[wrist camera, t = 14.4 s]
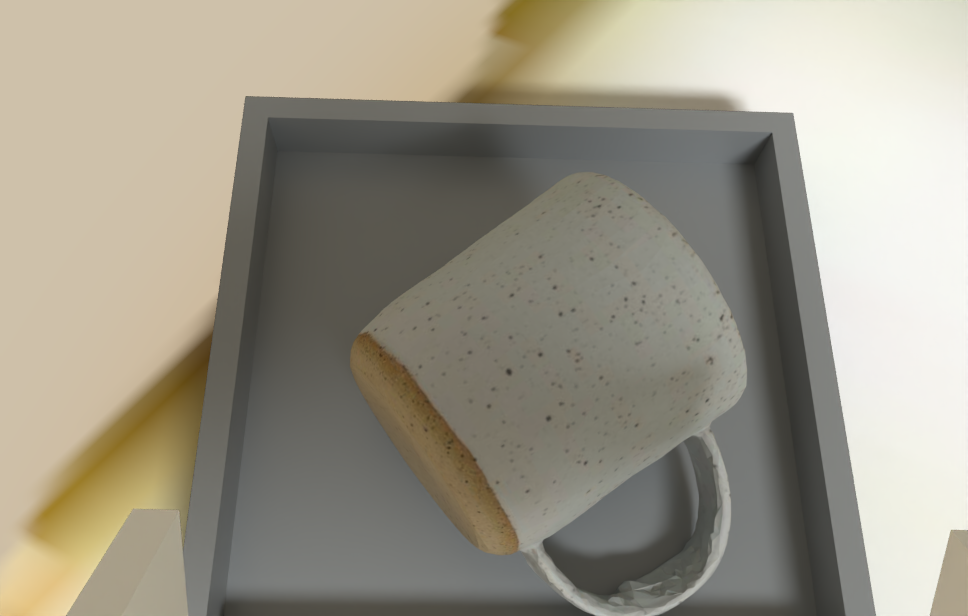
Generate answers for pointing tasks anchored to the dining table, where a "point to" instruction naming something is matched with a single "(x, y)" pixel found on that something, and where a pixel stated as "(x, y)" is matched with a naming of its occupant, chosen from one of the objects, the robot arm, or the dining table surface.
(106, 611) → the robot arm
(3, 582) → the dining table surface
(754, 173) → the tray
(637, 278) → the ceramic mug
